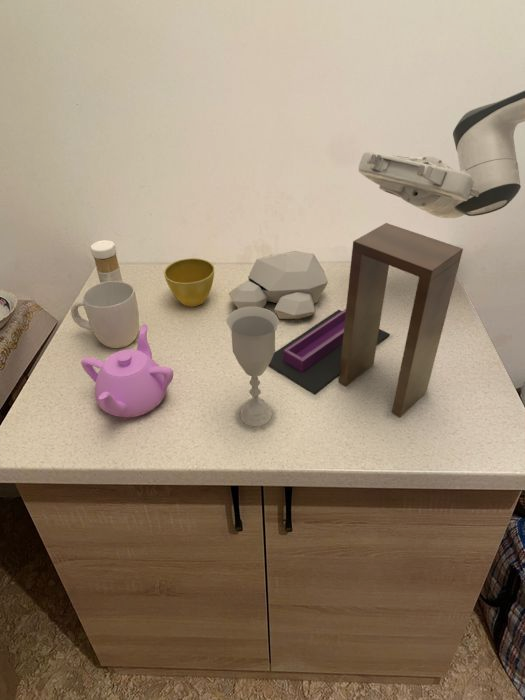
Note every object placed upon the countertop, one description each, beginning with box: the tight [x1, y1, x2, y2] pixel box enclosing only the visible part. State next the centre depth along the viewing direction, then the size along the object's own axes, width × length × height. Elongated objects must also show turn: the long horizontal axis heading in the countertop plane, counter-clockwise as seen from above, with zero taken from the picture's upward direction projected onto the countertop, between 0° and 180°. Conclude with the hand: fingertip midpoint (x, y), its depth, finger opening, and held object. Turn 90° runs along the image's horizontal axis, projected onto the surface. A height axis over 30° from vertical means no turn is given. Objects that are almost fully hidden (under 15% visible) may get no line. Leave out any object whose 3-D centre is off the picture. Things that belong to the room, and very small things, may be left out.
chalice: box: [226, 307, 280, 427], centre depth 74 cm, size 7×7×18 cm
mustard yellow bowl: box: [163, 257, 215, 308], centre depth 103 cm, size 10×10×7 cm
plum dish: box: [284, 308, 346, 373], centre depth 93 cm, size 22×4×3 cm, turn 135°
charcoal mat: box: [268, 309, 391, 395], centre depth 92 cm, size 22×12×1 cm, turn 136°
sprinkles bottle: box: [90, 239, 124, 283], centre depth 101 cm, size 5×5×14 cm
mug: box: [70, 281, 140, 349], centre depth 93 cm, size 13×9×10 cm
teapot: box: [80, 323, 174, 419], centre depth 80 cm, size 12×14×9 cm
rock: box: [228, 250, 329, 320], centre depth 102 cm, size 18×20×10 cm
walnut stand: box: [338, 222, 464, 418], centre depth 76 cm, size 8×12×26 cm, turn 46°
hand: (396, 163), depth 81 cm, fingers open, 8 cm apart
